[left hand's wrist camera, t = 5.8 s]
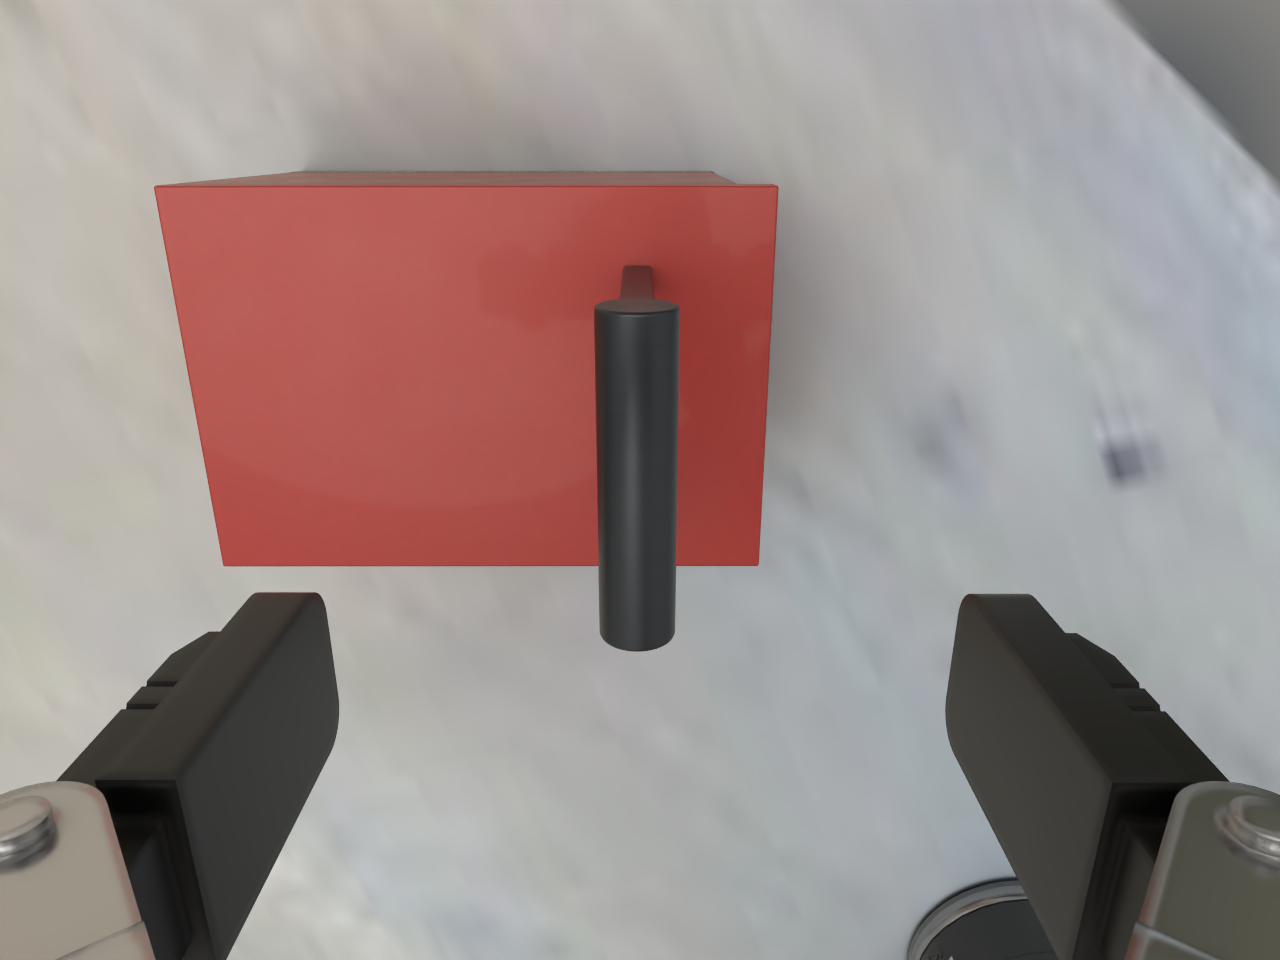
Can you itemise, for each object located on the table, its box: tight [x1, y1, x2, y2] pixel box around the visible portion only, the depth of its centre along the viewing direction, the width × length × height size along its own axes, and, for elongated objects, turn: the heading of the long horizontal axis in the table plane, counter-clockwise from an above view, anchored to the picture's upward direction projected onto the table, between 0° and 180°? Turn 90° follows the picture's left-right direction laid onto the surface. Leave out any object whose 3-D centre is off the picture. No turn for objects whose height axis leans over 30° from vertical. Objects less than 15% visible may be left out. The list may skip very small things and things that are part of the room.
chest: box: [180, 171, 735, 184], centre depth 28 cm, size 14×10×9 cm
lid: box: [154, 184, 778, 651], centre depth 20 cm, size 15×10×8 cm
